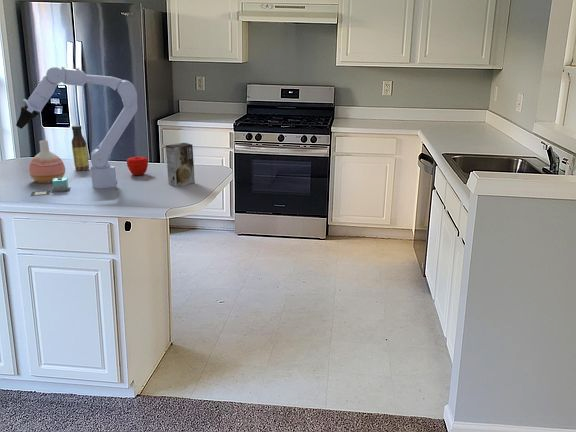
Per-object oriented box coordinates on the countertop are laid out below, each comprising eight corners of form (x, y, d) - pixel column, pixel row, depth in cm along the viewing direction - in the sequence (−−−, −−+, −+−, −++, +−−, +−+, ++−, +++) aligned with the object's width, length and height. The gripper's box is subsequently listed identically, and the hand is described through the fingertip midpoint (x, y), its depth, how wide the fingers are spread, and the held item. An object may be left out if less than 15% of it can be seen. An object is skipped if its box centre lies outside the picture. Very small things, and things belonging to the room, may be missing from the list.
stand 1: (51, 193, 216) (50, 190, 215) (49, 197, 210) (49, 194, 209) (32, 194, 214) (32, 191, 213) (30, 199, 208) (30, 195, 207)
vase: (73, 181, 236) (68, 139, 231) (52, 188, 223) (46, 144, 218) (45, 179, 239) (40, 137, 234) (23, 186, 227) (17, 142, 222)
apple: (133, 178, 241) (132, 160, 239) (124, 174, 247) (122, 157, 245) (152, 175, 247) (151, 157, 244) (143, 171, 253) (141, 154, 251)
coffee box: (186, 180, 237) (184, 142, 232) (195, 183, 232) (193, 144, 228) (167, 184, 231) (165, 144, 226) (176, 186, 226) (174, 146, 222)
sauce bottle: (92, 169, 258) (87, 125, 253) (81, 171, 253) (76, 127, 248) (83, 167, 262) (78, 124, 256) (71, 169, 257) (66, 126, 251)
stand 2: (71, 190, 220) (70, 187, 220) (70, 194, 214) (69, 191, 214) (53, 191, 219) (52, 188, 218) (51, 195, 213) (51, 192, 212)
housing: (68, 188, 219) (67, 176, 218) (67, 191, 215) (66, 179, 213) (54, 188, 218) (53, 177, 216) (53, 192, 213) (52, 180, 212)
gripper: (33, 87, 211) (12, 117, 212) (28, 89, 198) (6, 121, 199) (50, 99, 214) (30, 128, 215) (47, 102, 201) (25, 133, 201)
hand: (20, 125), depth 207 cm, fingers open, 7 cm apart
